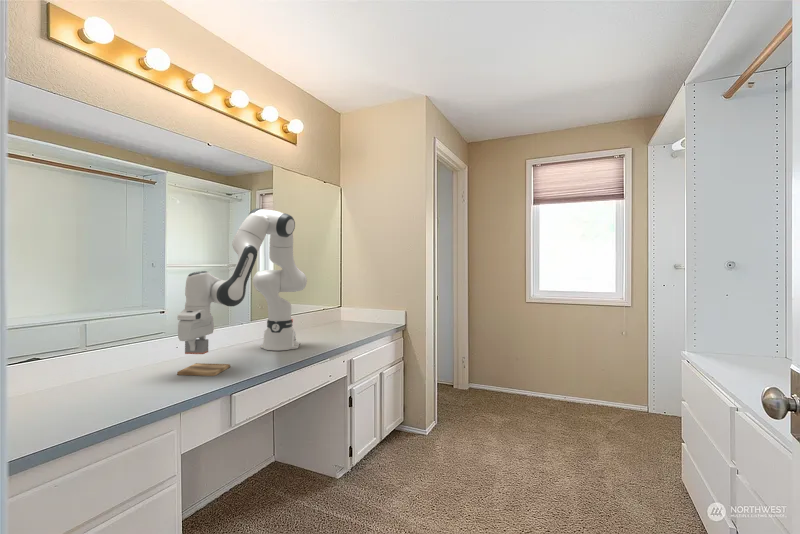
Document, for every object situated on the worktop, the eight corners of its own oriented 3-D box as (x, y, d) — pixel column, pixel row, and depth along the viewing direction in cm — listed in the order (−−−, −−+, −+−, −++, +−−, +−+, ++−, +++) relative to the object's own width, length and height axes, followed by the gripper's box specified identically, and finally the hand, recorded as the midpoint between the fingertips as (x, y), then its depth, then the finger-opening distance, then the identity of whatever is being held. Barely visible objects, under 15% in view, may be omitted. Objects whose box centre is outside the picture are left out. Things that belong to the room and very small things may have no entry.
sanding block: (190, 351, 159) (190, 339, 159) (208, 352, 159) (208, 339, 159) (184, 353, 155) (185, 340, 155) (203, 354, 155) (203, 341, 155)
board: (195, 366, 164) (195, 363, 164) (230, 367, 163) (230, 364, 163) (177, 374, 151) (177, 371, 151) (214, 375, 150) (214, 372, 150)
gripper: (203, 310, 167) (202, 344, 167) (174, 315, 147) (173, 354, 147) (218, 310, 167) (217, 344, 167) (192, 316, 147) (191, 354, 147)
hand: (196, 349), depth 157 cm, fingers closed on sanding block, 4 cm apart
